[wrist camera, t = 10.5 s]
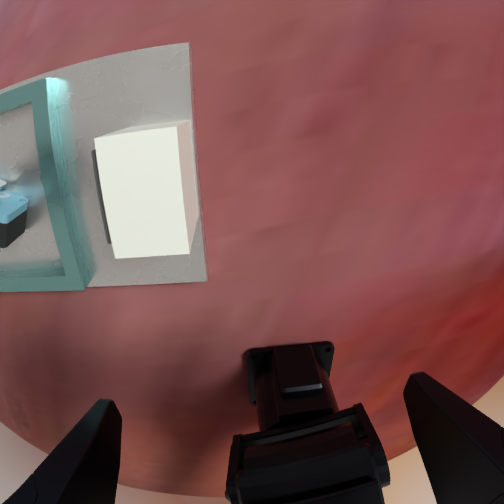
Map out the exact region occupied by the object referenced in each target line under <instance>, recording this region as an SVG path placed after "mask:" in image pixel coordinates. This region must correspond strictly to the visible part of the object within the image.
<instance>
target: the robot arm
mask: <svg viewBox="0 0 504 504" xmlns="http://www.w3.org/2000/svg"><path fill="white" fill-rule="evenodd" d="M328 347H329V348H328ZM326 348H327V349H326ZM333 354H334V346H333V343H332V342H328V341H327V342H319V343H310V344H301V345H292V346H281V347H270V348H258V349H251V350H249V351H248V352H247V363H248V378H249V393H250V403H251V404H252V405H254V406H257V414H258V423H259V432H255V433H250V434H245V435H242V434H238V435H233V442H232V445H231V450H230V457H229V465H228V473H227V481H226V490H225V497H226V499H227V500H228V501H230V502H231V504H385V503H384V498H383V493H382V488H383V487H386V486H388V485H390V472H389V467H388V463H387V459H386V456H385V452H384V449H383V447H382V444H381V442H380V440H379V437H378V435H377V433H376V431H375V429H374V427H373V425H372V423H371V421H370V419H369V417H368V415H367V413H366V411H365V409H364V407H363V405H362V403H358V404H355V405H353V407H350V408H347V409H344V410H341V411H339V408H338V405H337V402H336V399H335V396H334V393H333V390H332V387H331V384H330V381H329V376H330V371H331V365H332V360H333ZM252 355H256V356H252ZM403 396H404V400H405V404H406V408H407V411H408V415H409V419H410V423H411V427H412V431H413V435H414V438H415V441H416V443H417V446H418V449H419V451H420V454H421V457H422V460H423V463H424V466H425V468H426V471H427V474H428V477H429V480H430V483H431V486H432V489H433V492H434V495H435V498H436V502H437V504H504V428H503V427H501V426H500V425H499V424H497V423H496V422H495V421H493V420H492V419H490V418H489V417H487V416H486V415H485V414H483V413H481V412H480V411H479V410H477V409H476V408H475V407H473V406H472V405H470V404H469V403H467V402H466V401H465V400H463V399H462V398H460V397H459V396H458V395H456V394H455V393H453V392H452V391H450V390H449V389H448V388H446V387H445V386H443V385H442V384H440V383H439V382H438V381H436V380H435V379H433V378H432V377H430V376H429V375H428V374H426V373H425V372H422V371H421V372H416V373H413V374H411V375H410V376H409V379H408V381H407V384H406V386H405V388H404V392H403ZM121 432H122V417H121V414H120V412H119V411H118V409H117V407H116V405H115V403H114V401H113V400H111V399H99V400H98V401H97V402H96V403H95V404H94V405H93V406H92V408H91V409H90V410H89V411H88V412H87V413H86V414H85V415H84V416H83V417H82V419H81V420H80V421H79V422H78V423H77V424H76V425H75V426H74V427H73V429H72V430H71V431H70V432H69V433H68V434H67V435H66V436H65V437H64V439H63V440H62V441H61V442H60V443H59V444H58V445H57V446H56V447H55V449H54V450H53V451H52V452H51V453H50V454H49V455H48V456H47V458H46V459H45V460H44V461H43V462H42V463H41V464H40V465H39V466H38V468H37V469H36V470H35V471H34V474H31V475H30V476H29V478H28V479H27V480H26V481H25V482H24V483H23V484H22V485H21V486H20V488H19V489H17V490H16V492H14V493H13V494H12V495H11V496H10V497H9V498H8V499H7V500H6V501H5V502H4V503H2V504H115V496H116V489H117V482H118V475H119V468H120V454H121Z"/></svg>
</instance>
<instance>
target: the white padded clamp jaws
mask: <svg viewBox="0 0 504 504" xmlns="http://www.w3.org/2000/svg"><path fill="white" fill-rule="evenodd" d="M94 141H95V149H94V150H92V151H91V155H92V162H93V169H94V175H95V182H96V188H97V194H98V199H99V205H100V210H101V215H102V220H103V225H104V230H105V235H106V239H107V244H112V247H113V251H114V255H115V259H119V258H135V257H150V256H166V255H181V254H190V250H191V246H192V241H193V237H194V232H195V228H196V223H197V219H198V207H197V197H196V186H195V174H194V162H193V149H192V136H191V121H190V120H184V121H175V122H166V123H157V124H150V125H142V126H135V127H129V128H125V129H122V130H118V131H115V132H112V133H109V134H106V135H103V136H100V137H97V138H94Z"/></svg>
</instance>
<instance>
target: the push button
mask: <svg viewBox="0 0 504 504" xmlns="http://www.w3.org/2000/svg"><path fill="white" fill-rule="evenodd" d="M4 185H6V182H5V181H3V180H0V187H2V186H4ZM27 207H28V199H26V198H24V197H20V196H18V195H15V194H12V193H10V192H7V191H5V190H2V189H0V248H6V247H8V246H9V245H10V244H11V243H12V242H14V241H15V240H16V239H17V238H18V237H19V236H21V235H22V234H23V233H24V232H25V225H26V215H27Z"/></svg>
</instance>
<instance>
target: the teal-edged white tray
mask: <svg viewBox="0 0 504 504" xmlns="http://www.w3.org/2000/svg"><path fill="white" fill-rule="evenodd" d="M184 120H190V121H191V136H192V149H193V162H194V174H195V186H196V197H197V207H198V219H197V223H196V228H195V232H194V237H193V241H192V246H191V250H190V254H181V255H166V256H150V257H135V258H119V259H115V255H114V251H113V247H112V244H107V239H106V235H105V230H104V225H103V220H102V215H101V210H100V205H99V199H98V194H97V188H96V182H95V175H94V169H93V162H92V155H91V151H92V150H94V149H95V141H94V138H97V137H100V136H103V135H106V134H109V133H112V132H115V131H118V130H122V129H125V128H129V127H135V126H142V125H150V124H157V123H166V122H175V121H184ZM0 180H3V181H5V182H6V185H4V186H2V187H0V189H2V190H5V191H7V192H10V193H12V194H15V195H18V196H20V197H24V198H26V199H28V207H27V215H26V225H25V232H24V233H23V234H22V235H21V236H19V237H18V238H17V239H16V240H15V241H14V242H12V243H11V244H10V245H9V246H8V247H6V248H0V292H35V291H77V290H85V289H86V288H87V287H100V286H124V285H146V284H166V283H185V282H203V281H207V279H208V260H207V251H206V241H205V231H204V221H203V211H202V199H201V188H200V176H199V163H198V150H197V136H196V120H195V104H194V85H193V63H192V47H191V45H190V44H189V43H180V44H172V45H165V46H158V47H151V48H145V49H139V50H134V51H128V52H123V53H118V54H114V55H109V56H105V57H100V58H96V59H92V60H88V61H84V62H81V63H77V64H73V65H70V66H67V67H63V68H60V69H57V70H53V71H50V72H47V73H44V74H41V75H38V76H35V77H33V78H30V79H27V80H24V81H22V82H19V83H16V84H14V85H11V86H9V87H6V88H4V89H2V90H0Z"/></svg>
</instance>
